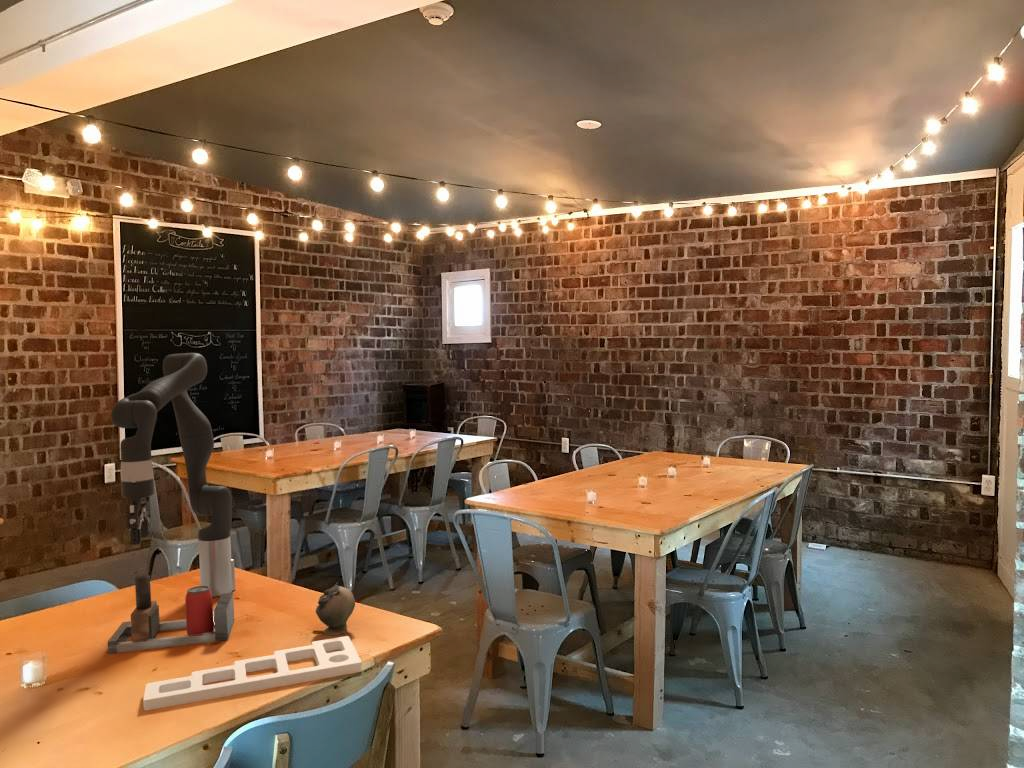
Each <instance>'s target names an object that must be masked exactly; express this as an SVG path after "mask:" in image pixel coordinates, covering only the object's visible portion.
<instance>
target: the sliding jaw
mask: <svg viewBox="0 0 1024 768" xmlns="http://www.w3.org/2000/svg"><path fill="white" fill-rule="evenodd" d="M134 584H135V586H134V589H135V604H136V605H135V608H134V609H133V611H132V612H131V614H130V621H131V630H132V634H131V641H136V640H145V639H155V636H156V634H157V632H159V631H158V629H159V628H160V622H161V621H160V605H159V604H157V603H158V602H157V600H152V593H151V592H152V590H151V589H152V588H151V575H150V574H141V575H137V576H135V577H134Z"/></svg>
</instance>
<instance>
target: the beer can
mask: <svg viewBox="0 0 1024 768" xmlns="http://www.w3.org/2000/svg"><path fill="white" fill-rule="evenodd" d="M184 600H185V601H184V602H185V616H186V617H185V619H186V623H187V628H186V635H191V634H201V633H210V632H215V625H214V622H213V616H214V605H213V604H214V603H213V602H214V601H213V597H212V593H211V591H210V587H208V586H201V585H198V586H192V587H190V588H188V589H187V590H186V594H185V598H184Z"/></svg>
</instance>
